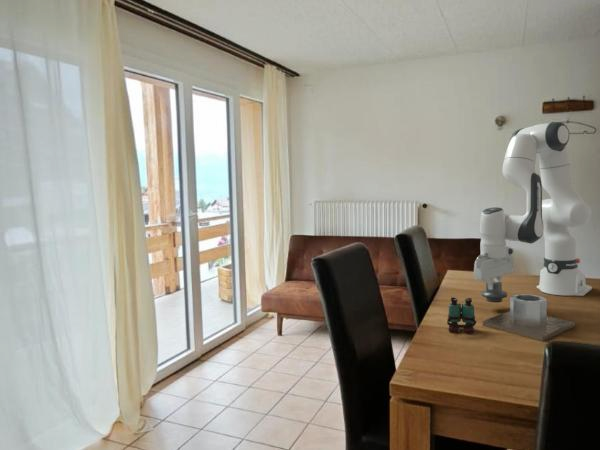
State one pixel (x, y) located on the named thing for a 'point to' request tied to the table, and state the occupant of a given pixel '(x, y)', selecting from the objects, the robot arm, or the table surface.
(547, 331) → the square base plate
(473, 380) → the table surface
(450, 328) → the binoculars
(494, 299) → the grey dial knob
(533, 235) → the robot arm
